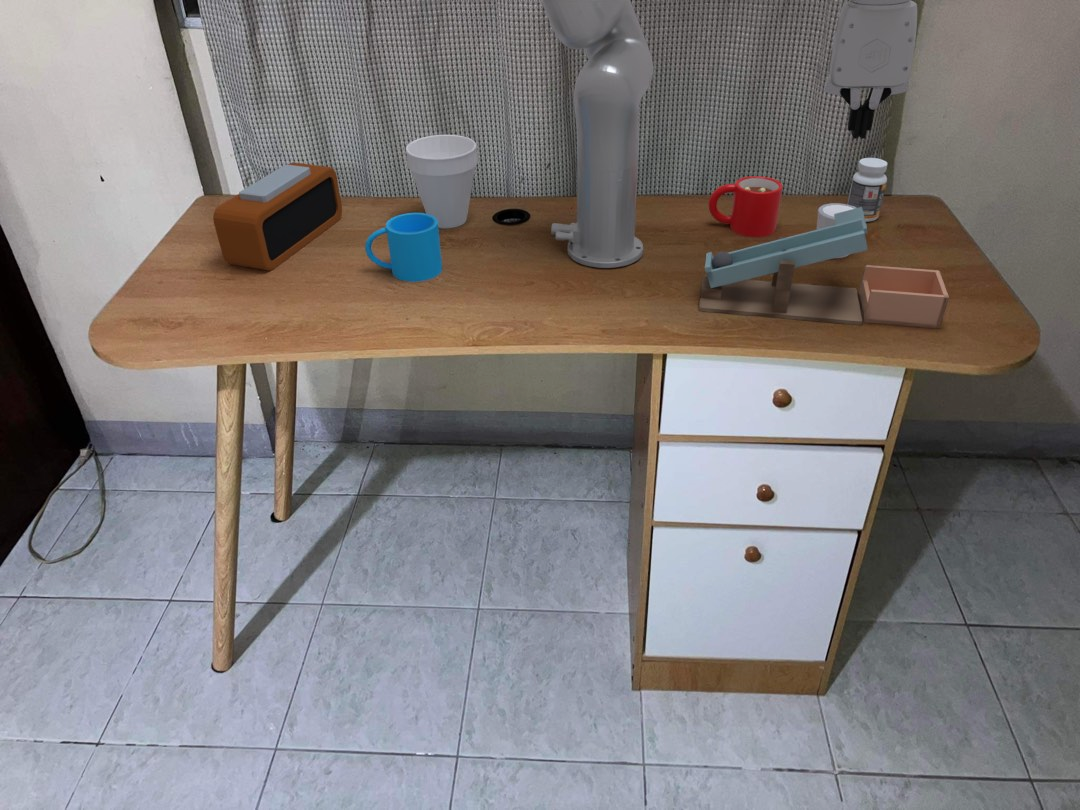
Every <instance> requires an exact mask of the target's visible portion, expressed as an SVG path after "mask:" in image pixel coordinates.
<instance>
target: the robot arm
mask: <svg viewBox="0 0 1080 810" xmlns="http://www.w3.org/2000/svg"><path fill="white" fill-rule="evenodd" d="M540 1H541V4H542V7H543V9H544V11H545V13H546V17H547V18H548V20H549V24H550V26H551V28H552V30H553V32H554V35H555V36H556V37H557V39H558V40H559V41H560V42H561V43H562V44H563V45H564V46H565V47H567V48H569V49H571V50H584V53H585V55H586V57H587V61H586V63H585V64H584V65H583V67H582V68H581V69H580V72H579V74H578V75H577V77H576V81H575V85H574V91H573V105H574V106H573V107H574V116H575V123H576V125H575V126H576V161H577V163H576V164H577V168H576V169H577V172H576V173H577V175H576V178H577V180H576V181H577V182H576V183H577V188H576V189H577V190H576V193H577V195H576V196H577V197H576V222H571V223H570V224H563V223H558V222H557V223H555V222H553V223H552V224H551V230H550V231H551V236H552V235H553V236H555V240H556V241H568V243H567V254H568V255H569V257H570V259H572V260H573V261H574V262H576V263H578V264H579V265H583V266H586V267H592V268H599V269H614V268H621V267H625V266H629V265H631V264H633V263H636V262H637V261H638V260H640V259H641V258H642V256H643V254H644V245H643V242H642V241H641V239H639V238H638V237H637V236H635V226H636V210H637V209H636V208H637V192H638V176H639V175H638V173H639V172H638V171H639V149H640V135H639V134H640V131H639V130H640V129H639V125H640V123H639V108H640V102H641V100H642V98H643V96H644V95H645V93H646V92H647V90H648V89H649V87H650V85H651V82H652V81H653V75H654V63H653V58H652V54H651V51H650V47H649V46H648V43H647V40H646V37H645V35H644V32H643V30H642V28H641V25H640V22H639V19H638V17H637V15H636V11H635V8H634V7H633V4H632V2H631V1H632V0H540ZM837 18H838V19H837V23H836V26H835V31H834V36H833V39H832V46H831V51H830V55H829V62H828V75H827V78H826V81H825V84H824V88H823V89H824V92H825V93H827V94H830V95H834V96H841V97H842V99H843V100H844V101H845V102H846V103H847V104H848V106H850V108H849V115H848V119H847V120H848V121H847V131H851V135H852V136H851V137H852V139H855V140H856V139H858V138H860V139H861V140H863V139H866V137H867V132H868V131H871V130H872V128H873V127H872V125H873V121H874V115H875V114H874V113H875V110H876V109H877V108H878V107H879V105H880V104H881V103H883V102H884V101H885V100H886V99H887V98H888V97H889V96H893V95H898V94H903V93H906V92H907V91H909V81H910V78H911V74H912V69H913V63H914V55H915V47H916V38H917V26H918V4H917V3H916V2H915V1H913V0H848V1H846V2H844V3H843V4H842V7H841V9H840V12H839V16H838V17H837ZM861 89H869V91H868V93H867V97H866V99H865V100H864V103H863V104H862V100H861Z"/></svg>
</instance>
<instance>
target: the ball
mask: <svg viewBox="0 0 1080 810" xmlns="http://www.w3.org/2000/svg"><path fill="white" fill-rule="evenodd" d="M713 256H714V257H713V260H712V265H713V267H714V269H717V268H721V267H725V266H729V265H733V259H732V256H731V255H730V254H729V252H727V251H719V252H717V253H715V255H713Z"/></svg>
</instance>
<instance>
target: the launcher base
mask: <svg viewBox="0 0 1080 810" xmlns="http://www.w3.org/2000/svg"><path fill="white" fill-rule="evenodd" d="M786 237H787V236H781V235H779V237H778V240H779V239H783V238H786ZM794 273H795V261H782V260H780V265H779V271H778V272H775V273H772V279H771V280H770V281H769V280H758V279H757V280H756V279H747V280H743V281H738V282H734V283H730V284H726V285H722V286H718V287H714V288H711V287H710V283H709V280H708V277H707V275H702V279H701V287H700V296H699V297H700V298H699V307H698V311H699V312H707V313H719V314H728V315H729V314H730V315H739V316H740V315H741V316H752V317H753V316H754V317H762V318H763V317H764V318H774V319H775V318H776V319H786V320H787V319H788V320H796V321H798V320H799V321H810V322H819V323H820V322H821V323H834V324H841V325H842V324H845V325H856V326H863V325H862V324H863V315H862V310H861V305H860V299H859V294H858V292H857V288H856V287H844V286H843V287H842V286H830V285H819V284H808V283H807V284H806V283H794V282H793V278H794Z"/></svg>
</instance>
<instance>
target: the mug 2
mask: <svg viewBox="0 0 1080 810" xmlns="http://www.w3.org/2000/svg"><path fill="white" fill-rule="evenodd" d="M729 193H733V198H732V199H733V200H732V208H731V215H730V214H729V215H728V214H723V213H722V212H720V211H719V209H718V201H719V199H720V198H721V196H723V195H725V194H729ZM782 193H783V184H782V183H781V182H780V181H779V180H777V179H774V178H771V177H768V176H759V175H754V176H753V175H752V176H751V175H750V176H745V177H744V176H743V177H741V178H739V179H738V180H736V182H735V183H727V184H723V185H721V186H718V188H716V189H715V190H714V191H713V192H712V193H711V195H710V197H709V200H708V211H709V213H710V215H711V216H712V218H713V219H714V220H716V221H717V222H719V223H721V224H726V225H727V224H728V225H729V228H730V229H731V231H732V232H734V233H736V234H737V235H738V234H739V235H741V236H744V237H750V238H751V237H752V238H763V237H768V236H771V235H773V234H774V233H775V232H776V231H777V224H778V219H779V211H780V207H781V199H782Z"/></svg>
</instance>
